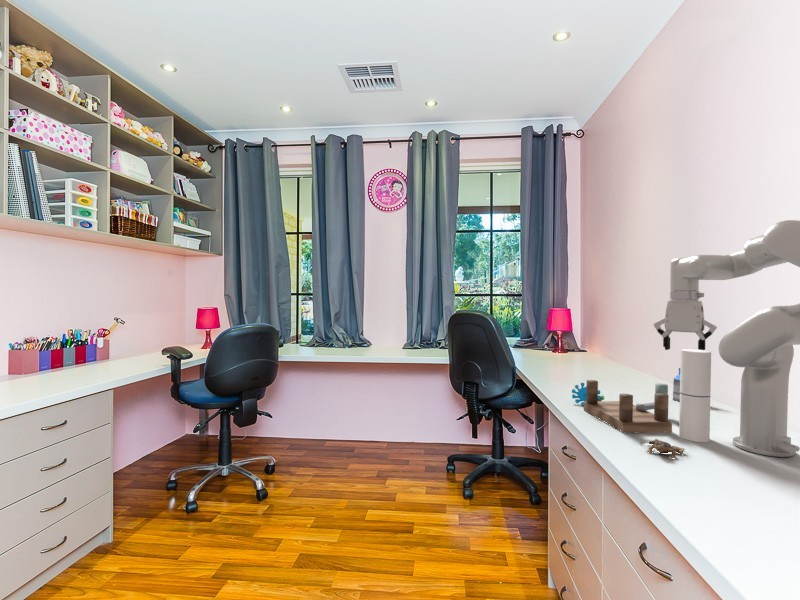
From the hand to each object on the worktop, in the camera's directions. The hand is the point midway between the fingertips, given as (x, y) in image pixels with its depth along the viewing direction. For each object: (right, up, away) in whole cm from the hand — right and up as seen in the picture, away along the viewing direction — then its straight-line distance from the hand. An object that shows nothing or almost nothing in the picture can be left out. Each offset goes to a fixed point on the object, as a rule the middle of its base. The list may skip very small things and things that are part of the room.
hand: (683, 350), depth 135 cm
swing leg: (-7, -20, +5) cm, 22 cm away
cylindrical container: (-6, -23, -14) cm, 28 cm away
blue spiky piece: (-21, -23, +21) cm, 38 cm away
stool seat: (-18, -23, +2) cm, 29 cm away
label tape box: (+19, -23, +25) cm, 39 cm away
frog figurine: (-22, -24, -25) cm, 41 cm away
